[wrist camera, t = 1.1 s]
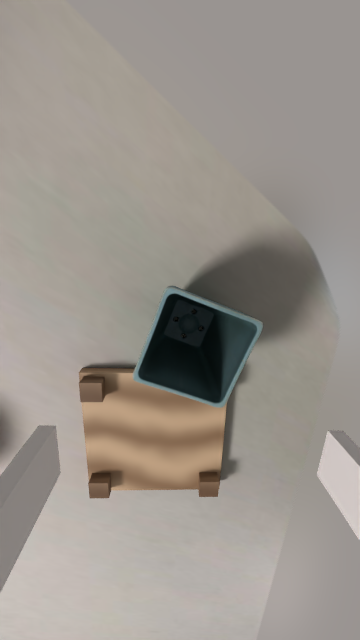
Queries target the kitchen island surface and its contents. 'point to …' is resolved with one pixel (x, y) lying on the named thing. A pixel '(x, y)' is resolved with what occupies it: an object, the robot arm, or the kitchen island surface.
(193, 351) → the flower pot
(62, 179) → the kitchen island surface
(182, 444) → the trivet
